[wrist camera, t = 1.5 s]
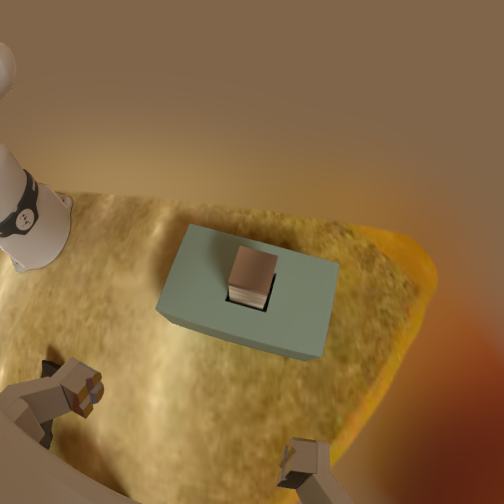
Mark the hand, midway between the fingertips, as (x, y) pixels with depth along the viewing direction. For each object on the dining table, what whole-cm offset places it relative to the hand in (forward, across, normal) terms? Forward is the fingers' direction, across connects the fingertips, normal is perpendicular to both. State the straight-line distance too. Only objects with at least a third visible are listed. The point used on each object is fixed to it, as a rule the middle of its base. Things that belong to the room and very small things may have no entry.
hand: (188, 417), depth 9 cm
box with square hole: (+30, 0, +12) cm, 32 cm away
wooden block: (+26, 0, +8) cm, 27 cm away
